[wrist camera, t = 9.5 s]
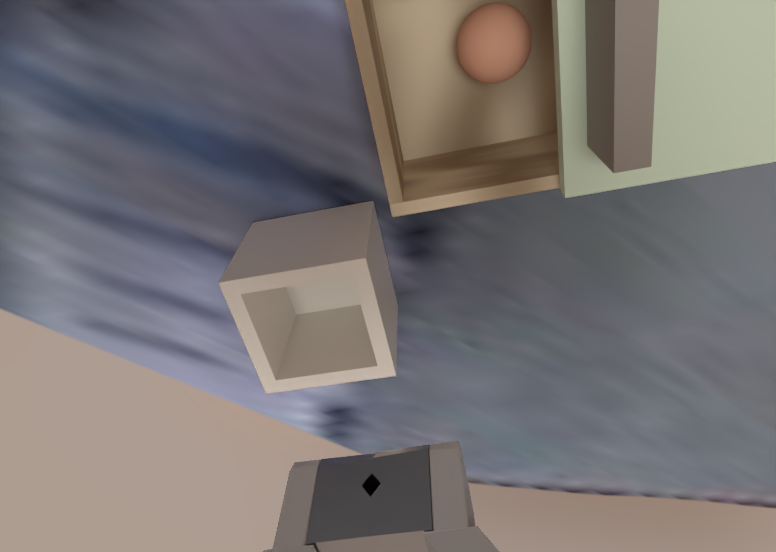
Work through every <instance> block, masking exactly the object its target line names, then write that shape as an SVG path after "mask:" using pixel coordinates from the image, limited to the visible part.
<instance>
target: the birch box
mask: <svg viewBox="0 0 776 552" xmlns="http://www.w3.org/2000/svg"><path fill="white" fill-rule="evenodd" d="M489 3H505V4H508V5H511V6H513V7H515V8H516V9H518V10H519V11H520V12H521V13H522V14H523V15H524V16H525V18H526V19H527V21H528V23H529V26H530V29H531V34H532V46H531V51H530V55H529V57H528V59H527V61H526V63H525V65H524V66H523V67H522V69H521V70H520V71H519V72H518V73H517V74H516V75H514V76H513V77H511V78H510V79H508V80H506V81H503V82H499V83H483V82H480V81H478V80H475V79H474V78H472V77H471V76H470V75H468V74H467V73H466V71H465V70H464V69H463V67H462V66H461V64H460V62H459V59H458V55H457V37H458V33H459V30H460V28H461V26H462V24H463V22H464V21H465V19H466V18H467V17H468V16H469V15H470V14H471V13H472V12H473V11H474V10H476V9H477V8H479V7H481V6H483V5H486V4H489ZM345 4H346V9H347V13H348V18H349V23H350V27H351V32H352V36H353V41H354V45H355V50H356V54H357V59H358V63H359V68H360V73H361V77H362V82H363V86H364V91H365V95H366V100H367V104H368V109H369V113H370V118H371V122H372V127H373V132H374V136H375V141H376V145H377V150H378V154H379V159H380V163H381V168H382V172H383V177H384V182H385V186H386V191H387V195H388V200H389V204H390V209H391V213H392V217H397V216H402V215H408V214H414V213H419V212H425V211H431V210H436V209H442V208H448V207H453V206H459V205H465V204H470V203H476V202H482V201H487V200H493V199H499V198H504V197H510V196H516V195H521V194H527V193H533V192H538V191H544V190H550V189H555V188H560V179H559V156H558V133H557V111H556V88H555V65H554V43H553V20H552V0H345Z"/></svg>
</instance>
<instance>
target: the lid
mask: <svg viewBox="0 0 776 552" xmlns="http://www.w3.org/2000/svg"><path fill="white" fill-rule="evenodd" d="M552 20H553V43H554V65H555V88H556V111H557V133H558V156H559V179H560V191H561V193H562V194H563V196H564V197H565V198H569V197H575V196H581V195H586V194H592V193H598V192H604V191H609V190H615V189H621V188H627V187H632V186H638V185H644V184H650V183H655V182H661V181H667V180H673V179H678V178H684V177H690V176H696V175H701V174H707V173H713V172H719V171H724V170H730V169H736V168H742V167H747V166H753V165H759V164H765V163H771V162H776V0H552Z"/></svg>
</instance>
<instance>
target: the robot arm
mask: <svg viewBox="0 0 776 552" xmlns="http://www.w3.org/2000/svg"><path fill="white" fill-rule="evenodd" d="M263 552H499V551H498V550H497V549H496V547H495V546H494V545H493V544H492V543H491V542H490V540H489V539H488V538H487V537H486V536H485V535H484V533H483V532H482V531H481V530H480V529H479V527H478V526H475V519H474V512H473V507H472V501H471V496H470V491H469V485H468V480H467V475H466V471H465V466H464V461H463V457H462V452H461V447H460V444H459V441H454V442H447V443H440V444H432V445H423V446H416V447H409V448H402V449H396V450H389V451H382V452H376V453H375V454H365V455H356V456H348V457H338V458H328V459H321V460H313V461H305V462H296V463H294V465H293V467H292V468H291V470H290V473H289V477H288V482H287V486H286V491H285V495H284V500H283V505H282V509H281V514H280V518H279V522H278V527H277V532H276V536H275V541H274V545H273V549H270V550H264V551H263Z"/></svg>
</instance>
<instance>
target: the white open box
mask: <svg viewBox="0 0 776 552" xmlns="http://www.w3.org/2000/svg"><path fill="white" fill-rule="evenodd" d="M218 283H219V286H220V288H221V290H222V292H223V295H224V297H225V299H226V302H227V304H228V306H229V309H230V311H231V313H232V316H233V318H234V320H235V323H236V325H237V327H238V330H239V332H240V334H241V337H242V339H243V341H244V344H245V346H246V348H247V350H248V353H249V355H250V357H251V360H252V362H253V364H254V367H255V369H256V371H257V374H258V376H259V378H260V381H261V383H262V385H263V388H264V390H265V392H266V394H267V393H275V392H282V391H289V390H297V389H304V388H311V387H318V386H326V385H333V384H340V383H347V382H355V381H362V380H369V379H376V378H384V377H391V376H396V364H397V319H398V303H397V299H396V295H395V290H394V286H393V282H392V278H391V273H390V269H389V265H388V261H387V257H386V252H385V248H384V244H383V240H382V235H381V231H380V227H379V223H378V218H377V214H376V210H375V206H374V201H369V202H363V203H358V204H352V205H347V206H341V207H336V208H330V209H325V210H319V211H313V212H308V213H302V214H297V215H291V216H286V217H280V218H275V219H269V220H264V221H258V222H253V223H252V225H251V227H250V228H249V230H248V232H247V234H246V235H245V237H244V239H243V241H242V242H241V244H240V246H239V247H238V249H237V251H236V253H235V254H234V256H233V258H232V260H231V261H230V263H229V265H228V267H227V268H226V270H225V272H224V274H223V275H222V277H221V279H220V281H219V282H218Z"/></svg>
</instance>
